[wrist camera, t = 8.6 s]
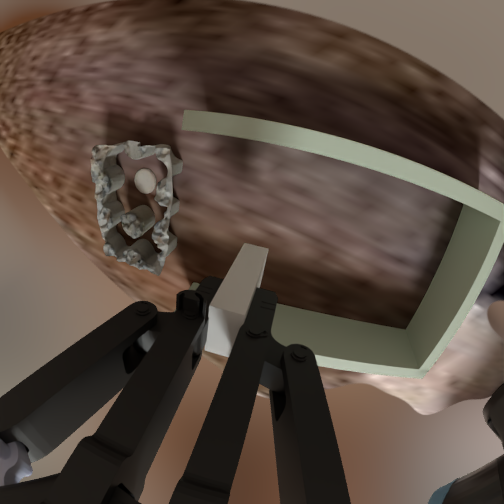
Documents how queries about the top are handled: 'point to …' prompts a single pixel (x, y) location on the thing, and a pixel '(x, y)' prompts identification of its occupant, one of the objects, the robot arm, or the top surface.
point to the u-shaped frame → (441, 288)
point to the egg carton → (142, 216)
